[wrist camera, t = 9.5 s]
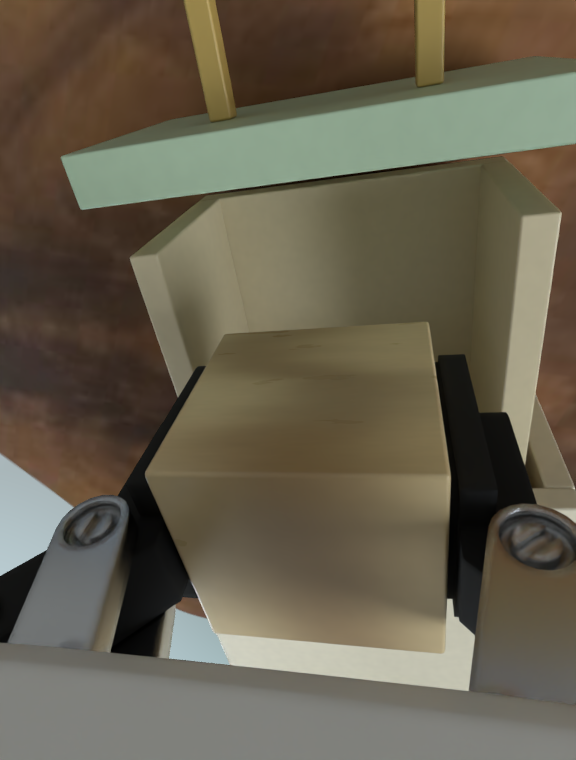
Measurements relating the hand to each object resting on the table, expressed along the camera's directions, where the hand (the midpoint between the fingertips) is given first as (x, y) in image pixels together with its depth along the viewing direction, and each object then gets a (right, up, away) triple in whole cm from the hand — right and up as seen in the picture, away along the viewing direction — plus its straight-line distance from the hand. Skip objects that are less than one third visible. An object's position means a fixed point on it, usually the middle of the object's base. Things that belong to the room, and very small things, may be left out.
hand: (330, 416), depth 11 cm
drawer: (+1, +6, +6) cm, 9 cm away
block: (0, 0, 0) cm, 0 cm away
